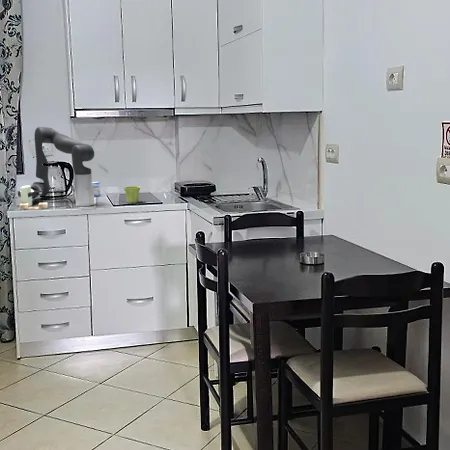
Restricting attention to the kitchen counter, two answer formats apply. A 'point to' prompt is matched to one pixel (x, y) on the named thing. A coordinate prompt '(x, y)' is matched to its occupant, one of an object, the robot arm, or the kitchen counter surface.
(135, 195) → the plant pot
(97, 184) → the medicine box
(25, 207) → the slot board
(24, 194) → the tall mint green pillar
